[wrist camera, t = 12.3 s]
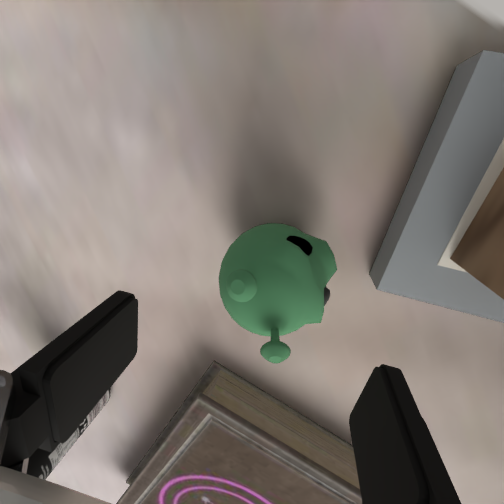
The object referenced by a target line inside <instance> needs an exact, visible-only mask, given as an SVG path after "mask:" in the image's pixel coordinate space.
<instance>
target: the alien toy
mask: <svg viewBox="0 0 504 504" xmlns="http://www.w3.org/2000/svg"><path fill="white" fill-rule="evenodd" d="M336 270H337V267H336V262H335V258H334V255H333V252H332V251H331V249H330V247H329V245H328V243H327V242H326V241H324V240H321V239H318V238H315V237H313V236H310V235H308V234H305V233H303V232H301V231H300V230H298V229H296V228H295V227H292V226H288V225H285V224H277V223H267V224H263V225H259V226H255V227H253V228H252V229H250V230H248V231H246V232H245V233H243V234H241V235H240V236H239V237H238V238H237V239H236V240H235V241H234V242H233V243H232V244H231V246H230V247H229V249H228V251H227V253H226V255H225V256H224V258H223V261H222V264H221V269H220V274H219V287H220V295H221V298H222V301H223V303H224V306H225V308H226V310H227V311H228V313H229V314H230V316H231V317H232V318H233V319H234V320H235V321H236V322H237V323H238V324H239V325H240V326H241V327H243V328H245V329H246V330H248V331H250V332H252V333H256V334H259V335H263V336H271V341H270V342H267V343H266V344H264V345H263V346H262V348H261V350H260V352H261V355H262V356H263V357H264V358H265V359H266V360H268V361H269V362H271V363H280V362H282V361H284V360H285V359H287V358H288V357H289V355H290V352H291V350H290V348H289V347H288V346H287V345H286V344H285V343H283V342H281V341H279V336H280V335H285V334H288V333H291V332H293V331H296V330H298V329H299V328H300V327H302V326H303V325H305V324H311V323H321V320H322V316H323V312H324V306H325V304H326V303H327V301H328V299H329V297H330V290H329V289H328V288H327V287H326V284H327V282H328V281H329V280H330V278H331V277H332V276H333V274H334V273H335V272H336Z"/></svg>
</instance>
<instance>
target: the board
mask: <svg viewBox="0 0 504 504" xmlns="http://www.w3.org/2000/svg"><path fill="white" fill-rule="evenodd" d="M503 168H504V53H499V52H493V51H487V50H483V51H481V52H479V53H478V54H476V55H474V56H472V57H471V58H469V59H467V60H465V61H464V62H462V63H460V64H459V65H457V67H456V69H455V71H454V74H453V76H452V79H451V81H450V83H449V86H448V88H447V90H446V93H445V95H444V98H443V100H442V102H441V105H440V107H439V109H438V112H437V114H436V117H435V119H434V121H433V124H432V126H431V129H430V131H429V133H428V136H427V138H426V140H425V143H424V145H423V148H422V150H421V152H420V155H419V157H418V159H417V162H416V164H415V167H414V169H413V171H412V174H411V176H410V178H409V181H408V183H407V186H406V188H405V190H404V193H403V195H402V198H401V200H400V202H399V205H398V207H397V209H396V212H395V214H394V217H393V219H392V221H391V224H390V226H389V228H388V231H387V233H386V236H385V238H384V240H383V243H382V245H381V248H380V250H379V252H378V255H377V257H376V259H375V262H374V264H373V267H372V269H371V271H370V274H369V275H370V277H371V279H372V281H373V283H374V285H375V287H376V289H377V290H380V291H384V292H388V293H392V294H395V295H399V296H403V297H407V298H411V299H415V300H418V301H422V302H426V303H430V304H434V305H437V306H441V307H445V308H449V309H453V310H457V311H460V312H464V313H468V314H472V315H476V316H479V317H483V318H487V319H491V320H495V321H499V322H502V323H504V299H502V298H501V297H500V296H498V295H497V294H496V293H494V292H493V291H492V290H490V289H489V288H488V287H486V286H485V285H484V284H482V283H481V282H480V281H478V280H477V279H476V278H475V277H473V276H472V275H471V274H469V273H468V272H467V271H465V270H464V269H463V268H461V267H460V266H459V265H457V264H456V263H455V262H453V261H452V260H451V259H450V258H451V256H452V254H453V253H454V251H455V249H456V248H457V246H458V244H459V242H460V241H461V239H462V237H463V236H464V234H465V232H466V231H467V229H468V227H469V225H470V224H471V222H472V220H473V219H474V217H475V215H476V214H477V212H478V210H479V208H480V207H481V205H482V203H483V202H484V200H485V198H486V196H487V195H488V193H489V191H490V190H491V188H492V186H493V185H494V183H495V181H496V179H497V178H498V176H499V174H500V173H501V171H502V169H503Z"/></svg>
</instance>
